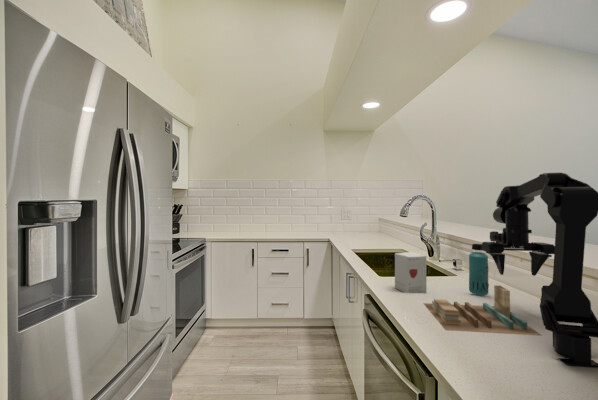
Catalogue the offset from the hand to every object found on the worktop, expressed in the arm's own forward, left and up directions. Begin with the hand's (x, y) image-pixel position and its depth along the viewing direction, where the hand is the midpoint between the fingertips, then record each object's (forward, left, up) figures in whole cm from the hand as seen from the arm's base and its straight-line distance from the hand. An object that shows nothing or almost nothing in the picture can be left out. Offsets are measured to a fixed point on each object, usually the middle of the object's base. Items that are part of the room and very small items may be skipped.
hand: (517, 274), depth 86 cm
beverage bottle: (+18, +3, -13) cm, 23 cm away
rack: (-5, +16, -13) cm, 21 cm away
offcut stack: (-5, +23, -12) cm, 27 cm away
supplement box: (+22, +27, -13) cm, 37 cm away
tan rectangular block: (-4, +7, -12) cm, 15 cm away
